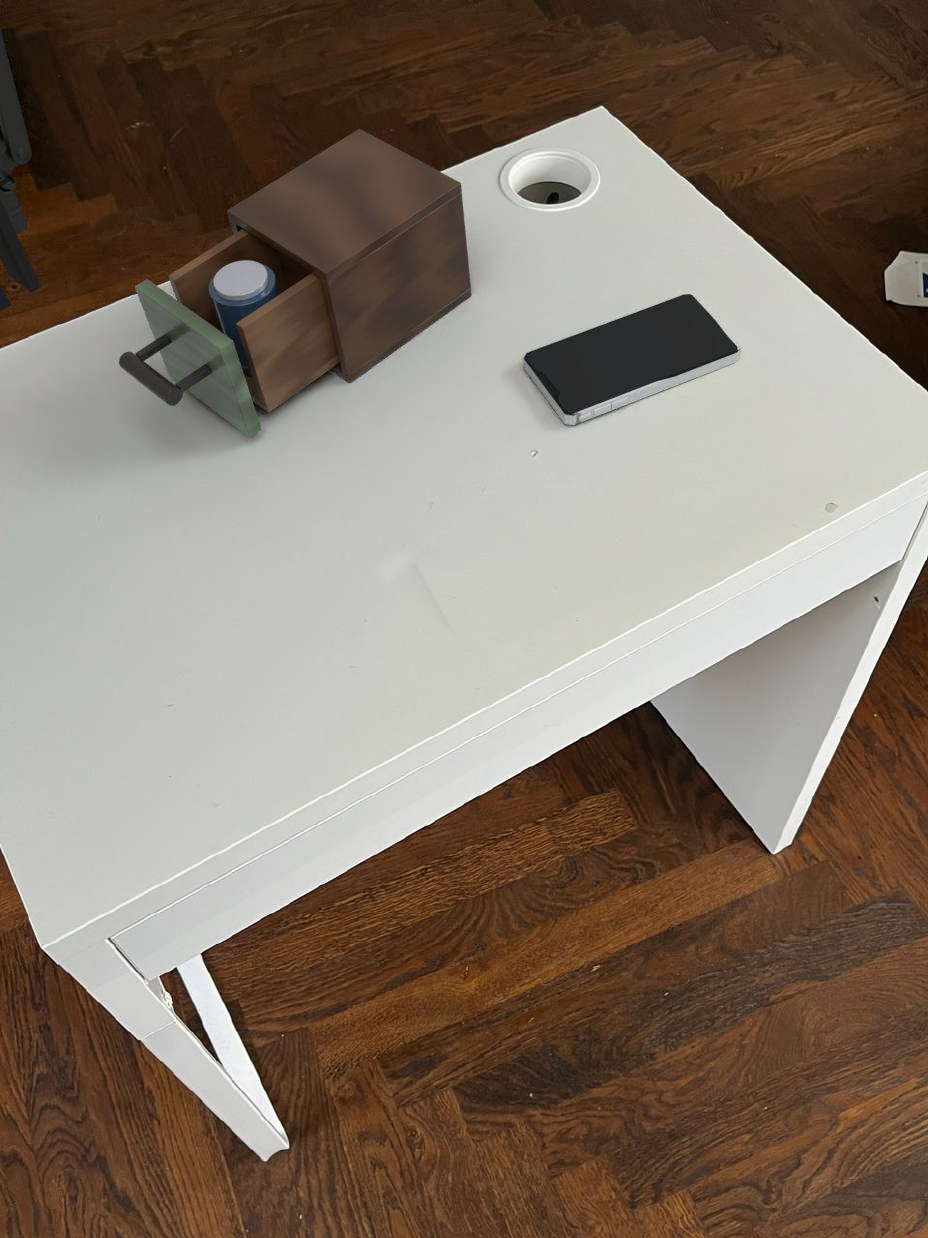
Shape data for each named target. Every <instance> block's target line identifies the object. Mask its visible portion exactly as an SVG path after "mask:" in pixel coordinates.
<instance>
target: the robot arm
mask: <svg viewBox="0 0 928 1238" xmlns="http://www.w3.org/2000/svg"><path fill="white" fill-rule="evenodd" d="M1 5H2V0H0V9H1ZM16 88H17V87H16V85H15V80H14V77H13V73H12V69H11V65H10V60H9V57H8V54H7V48H6V45H5V41H4V36H3V33H2V29H1V28H0V262H1V263H2V265H3V267H4V269H5V271H6V274H7V275H8V276H9V277H10V278H12V279H13V280H14V281H15V282H17V283H18V284H19V285H20V286H22V288H24V289H25V290H27V291H28V292H29V293H31V294H32V293H34V292H36V291H37V290H39V289H41V288H42V285H41V282H40V280H39V277H38V276H37V275H36V272H35V270H34V267H33V266H32V263H31V262H30V259H29V257H28V255H27V253H26V251H25V249H24V246H23V244H22V243H21V240H20V238H19V236H18V235H19V234H21V233H23V232H25V231H26V230H28V219H27V217H26V214H25V213H24V212H25V211H24V210H23V208H22V206H21V203H20V201H19V199H18V197H17V195H16V193H15V190H16V188H17V185H18V181H17V178H16V177H15V176H13V175H12V173H13V172H14V170H15V169H16V168H17V167H18V166H19V165H26V164H27V163H29V162H30V160H31V158H32V154H33V153H32V152H33V151H32V148H31V143H30V140H29V135H28V132H27V128H26V124H25V119H24V116H23V115H24V114H23V112H22V108H21V105H20V104H21V103H20V100H19V96H18V92H17V89H16ZM11 306H12V303H11V301H10V299H9V297H8V295H7V293H6V291H5V289H4V287H3V285H2V283H1V282H0V312H2V311H4V310H6V309H8V308H10V307H11Z"/></svg>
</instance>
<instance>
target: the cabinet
mask: <svg viewBox="0 0 928 1238" xmlns="http://www.w3.org/2000/svg"><path fill="white" fill-rule="evenodd" d="M462 191H463V189H462V182H460V181H458V180H456V179H454V178H453V177H451V176H449V175H447V174H445V173H443V172H441V171H439V170H437V169H436V168H435V167H432V166H430V165H428V164H426V163H425V162H423V161H421V160H419V159H417V158H415V157H413V156H411V155H410V154H408V153H406V152H404V151H402V150H400V149H399V148H396V147H395V146H392V145H391V144H389V143H387V142H385V141H384V140H381V138H378V137H376V136H374V135H372V134H370V133H369V132H366V131H365V130H363V129H360V128H358V129H357V130H355V131H353V132H352V133H350V134H349V135H347V136H346V137H344V138H342V139H341V140H339V141H337V142H336V143H334V144H332V145H331V146H329V147H328V148H326V149H324V150H322V151H321V152H319V153H318V154H316V155H315V156H313V157H311V158H310V159H308V160H306V161H304V163H302V164H300V165H298V166H296V167H294V168H293V169H291V170H290V171H289V172H287V173H286V174H284V175H282V176H281V177H279V178H277V179H276V180H274V181H272V182H271V183H269V184H268V185H266V186H264V187H263V188H261V189H260V190H258V191H257V192H255V193H253V194H251V195H250V196H248V197H247V198H245V199H243V200H242V201H240V202H239V203H237V204H235V205H234V206H231V207H230V208H229V209H227V210H226V214H227V216H228V220H229V223H230V226H231V227H230V228H231V230H232V233H233V234H232V235H234V234H235V233H237V232H239V231H240V230H242V229H245V230H247V231H248V232H250V233H251V234H253V235H254V236H256V237H257V238H259V239H261V240H262V241H264V242H265V243H267V244H268V245H270V246H272V247H273V248H275V249H276V250H278V251H279V252H281V253H283V254H284V255H286V256H287V257H289V258H290V259H292V260H293V261H295V262H297V263H298V264H300V265H301V266H303V267H304V268H306V269H308V270H309V271H311V272H312V273H314V274H315V275H317V276H319V277H320V278H321V281H322V285H323V289H324V294H325V298H326V303H327V307H328V312H329V316H330V320H331V325H332V329H333V334H334V338H335V343H336V347H337V351H338V356H339V360H340V362H339V363H338V364H337V365H335V366H334V367H332V368H331V369H330V370H329V371H331V372H333V373H334V374H335V375H337V376H338V377H339V378H342V380H344V381H346V382H347V383H349V384H352V383H353V382H354V381H356V380H358V379H359V378H360V377H361V376H362V375H364V374H365V373H366V372H368V371H369V370H371V369H372V368H373V367H375V366H377V365H378V364H380V362H382V361H383V360H385V359H386V358H388V356H390V355H392V354H393V353H395V352H396V351H397V350H398V349H400V348H401V347H403V346H404V345H406V344H407V343H408V342H410V341H411V340H412V339H414V338H415V337H416V336H418V335H419V334H421V333H423V331H425V330H426V329H428V328H429V327H430V326H432V325H433V324H434V323H436V322H437V321H439V320H440V319H441V318H443V317H444V316H445V315H447V314H449V312H451V311H452V310H454V309H456V308H457V307H458V306H460V305H461V304H462V303H463V302H465V301H466V300H467V299H469V298H470V297H472V285H471V284H472V283H471V273H470V264H469V254H468V253H469V252H468V245H467V244H468V242H467V234H466V223H465V221H466V220H465V213H464V202H463V193H462Z"/></svg>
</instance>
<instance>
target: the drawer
mask: <svg viewBox="0 0 928 1238" xmlns="http://www.w3.org/2000/svg"><path fill="white" fill-rule="evenodd" d="M243 260H249V261H255V262H258V263H262V264H264V265H266V266H268V267H269V268H270V269H271V270H272V271H273V272H274V274H275V276H276V280H277V284H278V288H279V292H280V295H278V296H277V297H275V298H274V299H272V300H271V301H269V302H268V303H266V304H265V305H263V306H262V307H260V308H259V309H257V310H256V311H254V312H253V313H251V314H250V315H248V316H247V317H245V318H244V319H242V320H241V321H239V322H238V323H236V325H237V329H238V332H239V335H240V338H241V341H242V345H243V348H244V351H245V354H246V357H247V361H248V364H249V367H250V370H251V373H252V377H248V376H245V375H244V373H243V370H242V367H241V364H240V361H239V358H238V354H237V351H236V348H235V345H234V342H233V340H232V339H230V338H229V337H227V336H226V335H225V334H223V333H222V331H221V328H220V325H219V322H218V319H217V316H216V313H215V310H214V307H213V303H212V300H211V297H210V294H209V290H208V289H209V283H210V281H211V279H212V278H213V277H214V275H215V274H216V273H217V272H218V271H219V270H220V269H221V268H223V267H224V266H226V265H228V264H230V263H233V262H237V261H243ZM167 277H168V280H169V283H170V285H171V288H172V291H173V294H174V296H175V298H174V297H173V296H171V294H169V293H168V292H166V291H164V290H163V289H162V288H161V287H160V286H158V285H156V284H155V283H153V281H151V280H149V279H144V280H143V281H141V282H139V283H138V284H136V285H135V286H134V290H135V293H136V295H137V297H138V300H139V302H140V305H141V307H142V310H143V312H144V315H145V318H146V321H147V322H148V325H149V327H150V330H151V333H152V335H153V338H154V340H153V341H152V342H150V343H148V344H147V345H145V346H144V347H142V348H141V349H139V350H137V351H136V352H135V353H134V352H133V351H125V352H123V353H122V354H121V355H120V357H119V359H118V365H119V367H120V368H121V369H122V370H123V371H125V372H126V373H127V374H128V375H129V376H131V377H132V378H134V379H135V380H136V381H137V382H138V383H140V384H141V385H143V386H144V387H145V388H146V389H148V390H149V391H150V392H151V393H152V394H154V395H155V396H156V397H157V398H159V400H161V401H163V402H164V403H165V404H166V405H167V406H171V407H173V406H177V405H178V404H180V402H181V401H182V399H183V393H185V392H186V391H188V392H189V393H191V394H192V395H193V396H195V397H196V398H197V399H198V400H199V401H201V402H202V403H204V404H205V405H206V406H207V407H208V408H210V409H212V411H214V412H215V413H217V414H218V415H219V416H220V417H222V418H223V419H224V420H226V421H227V422H228V423H229V424H230V425H232V426H233V427H235V428H236V429H237V430H239V431H240V432H241V433H242V434H244V435H245V436H246V437H248V438H249V439H250V438H252V437H253V436H255V435H257V433H259V432H260V431H262V427H261V424H260V421H259V418H258V414H257V412H256V408H255V405H258V406H259V407H260V408H261V409H262V410H263V411H266V412H267V413H270V412H272V411H274V409H276V408H277V407H279V406H280V405H282V404H284V403H285V402H286V401H288V399H290V398H292V397H293V396H295V395H297V393H299V392H300V391H302V390H303V389H305V388H306V387H307V386H308V385H310V384H312V383H313V382H314V381H316V380H317V379H318V378H320V377H321V376H323V375H324V374H325V373H328V371H331V370H330V369H331V368H332V367H334V366H335V365H337V364H338V363H339V362H340V360H339V356H338V351H337V347H336V343H335V338H334V334H333V329H332V325H331V320H330V316H329V312H328V307H327V303H326V298H325V294H324V289H323V285H322V281H321V278H320V277H319V276H317V275H315V274H314V273H312V272H311V271H309V270H308V269H306V268H304V267H303V266H301V265H300V264H298V263H297V262H295V261H293V260H292V259H290V258H289V257H287V256H286V255H284V254H283V253H281V252H279V251H278V250H276V249H275V248H273V247H272V246H270V245H268V244H267V243H265V242H264V241H262V240H261V239H259V238H257V237H256V236H254V235H253V234H251V233H250V232H248V231H247V230H245V229H242V230H240V231H239V232H237V233H235V234H232V235H230V236H229V237H227V238H226V239H224V240H223V241H221V242H219V243H218V244H216V245H215V246H213V247H211V248H210V249H208V250H206V251H205V252H204V253H202V254H200V255H199V256H197V257H196V258H194V259H192V260H191V261H189V262H187V263H186V264H185V265H183V266H181V267H180V268H178V269H176V270H174V271H173V272H172V273H170V274H169V275H168V276H167ZM158 352H159V353H160V355H161V358H162V362H163V364H164V366H165V369H166V371H167V373H168V376H169V378H171V379H173V380H174V381H175V382H176V383H175V384H174V383H173V382H172V381H170V380H169V379H168V378H166V377H165V376H164V375H162V374H161V372H159V371H157V370H156V369H155V368H154V367H152V366H151V365H150V364H148V362H146V361H147V360H148V359H149V358H151V357H153V356H154V355H155V354H157V353H158ZM254 403H255V405H254Z"/></svg>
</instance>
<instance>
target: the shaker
mask: <svg viewBox="0 0 928 1238" xmlns="http://www.w3.org/2000/svg"><path fill="white" fill-rule="evenodd" d="M208 290H209V294H210V297H211V300H212V303H213V307H214V310H215V313H216V316H217V319H218V322H219V325H220V328H221V331H222V333H223V334H225V335H226V336H227V337H229V338H230V339H232V340H233V342H234V345H235V348H236V351H237V354H238V358H239V361H240V364H241V367H242V370H243V373H244V375H245V376H248V377H252V373H251V370H250V367H249V364H248V361H247V357H246V354H245V351H244V348H243V345H242V341H241V338H240V335H239V332H238V329H237V325H236V323H238V322H239V321H241V320H242V319H244V318H245V317H247V316H248V315H250V314H251V313H253V312H254V311H256V310H257V309H259V308H260V307H262V306H263V305H265V304H266V303H268V302H269V301H271V300H272V299H274V298H275V297H277V296H278V295H280V292H279V288H278V284H277V280H276V276H275V274H274V272H273V271H272V270H271V269H270V268H269V267H268V266H266V265H264V264H262V263H258V262H255V261H249V260H243V261H237V262H233V263H230V264H228V265H226V266H224V267H223V268H221V269H220V270H219V271H218V272H217V273H216V274H215V275H214V277H213V278H212V279H211V281H210V283H209V289H208Z"/></svg>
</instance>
